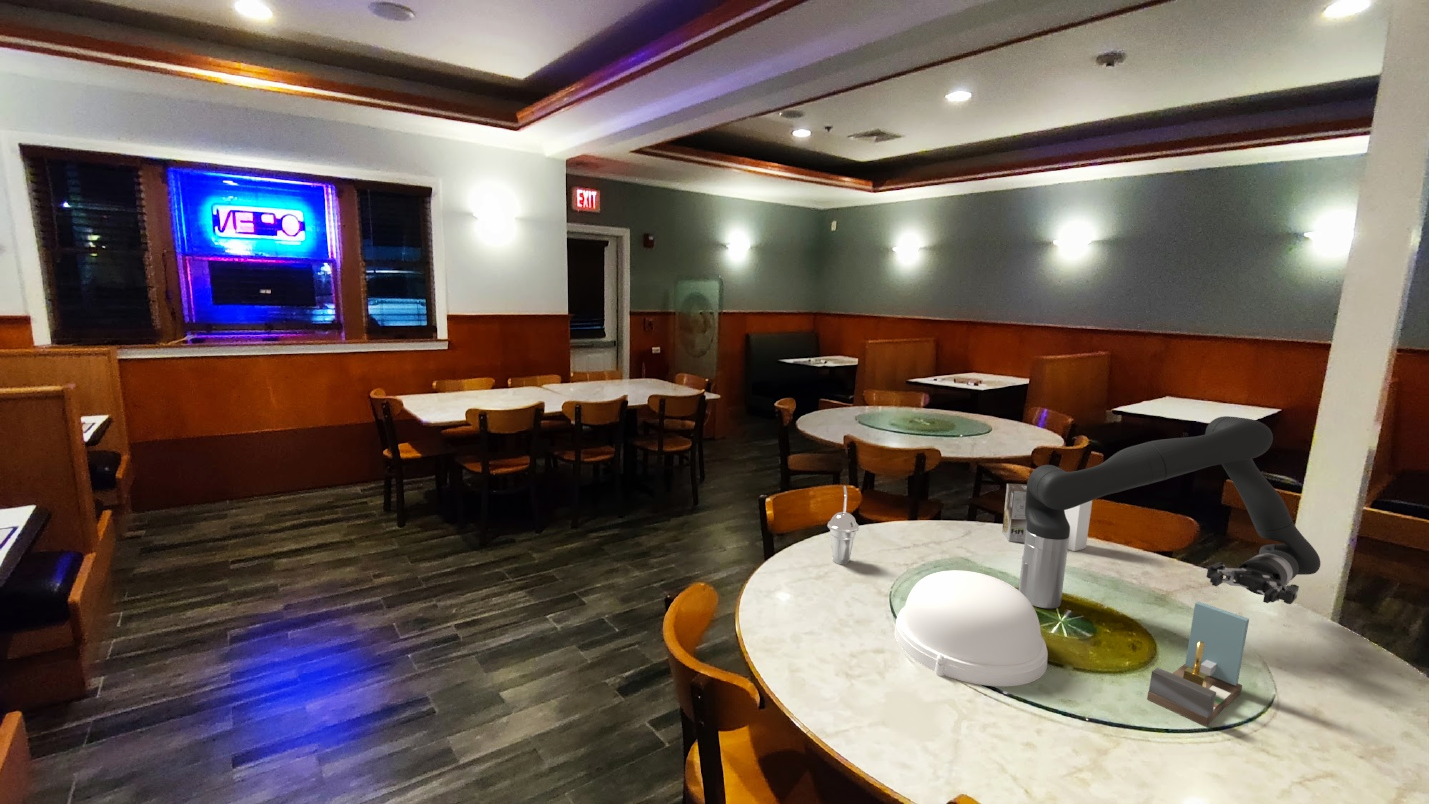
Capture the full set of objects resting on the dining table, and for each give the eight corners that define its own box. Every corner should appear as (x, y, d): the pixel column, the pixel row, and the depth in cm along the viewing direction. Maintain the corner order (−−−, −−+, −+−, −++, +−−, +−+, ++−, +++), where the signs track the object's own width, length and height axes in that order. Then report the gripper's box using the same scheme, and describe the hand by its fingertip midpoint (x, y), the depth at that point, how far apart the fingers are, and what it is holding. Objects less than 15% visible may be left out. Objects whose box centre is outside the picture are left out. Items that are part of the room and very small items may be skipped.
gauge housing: (1185, 669, 128) (1189, 644, 127) (1241, 692, 121) (1245, 665, 120) (1147, 699, 118) (1151, 671, 117) (1205, 726, 111) (1210, 697, 110)
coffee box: (1031, 543, 194) (1037, 492, 192) (1008, 541, 195) (1014, 490, 193) (1023, 533, 203) (1028, 484, 200) (1001, 531, 204) (1006, 482, 202)
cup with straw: (820, 561, 175) (824, 491, 172) (833, 551, 183) (838, 484, 180) (849, 570, 171) (854, 497, 167) (862, 559, 178) (867, 490, 175)
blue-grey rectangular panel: (1188, 662, 127) (1198, 601, 125) (1237, 683, 121) (1249, 618, 119) (1179, 669, 124) (1189, 607, 122) (1229, 690, 118) (1240, 625, 116)
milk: (1086, 548, 192) (1096, 477, 188) (1074, 551, 189) (1084, 479, 185) (1066, 541, 197) (1076, 472, 194) (1054, 544, 194) (1064, 474, 191)
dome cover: (929, 597, 157) (934, 542, 155) (1064, 642, 138) (1072, 581, 135) (867, 647, 133) (871, 583, 131) (1019, 711, 114) (1028, 637, 111)
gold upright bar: (1186, 678, 120) (1193, 637, 119) (1205, 686, 118) (1212, 644, 116) (1182, 682, 119) (1189, 640, 118) (1201, 690, 116) (1208, 647, 115)
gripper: (1229, 545, 145) (1201, 559, 136) (1312, 569, 133) (1288, 585, 124) (1222, 577, 146) (1195, 592, 137) (1304, 603, 135) (1280, 621, 125)
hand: (1239, 589), depth 130 cm, fingers open, 8 cm apart
